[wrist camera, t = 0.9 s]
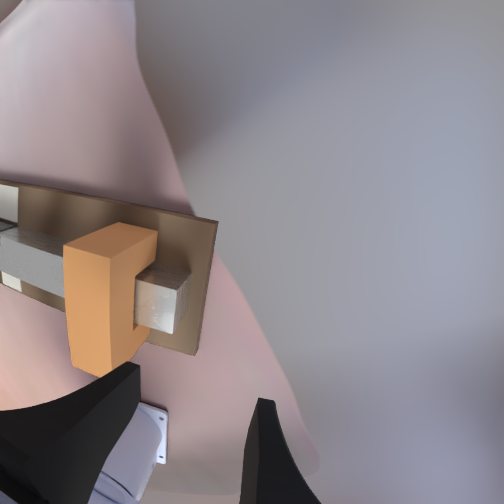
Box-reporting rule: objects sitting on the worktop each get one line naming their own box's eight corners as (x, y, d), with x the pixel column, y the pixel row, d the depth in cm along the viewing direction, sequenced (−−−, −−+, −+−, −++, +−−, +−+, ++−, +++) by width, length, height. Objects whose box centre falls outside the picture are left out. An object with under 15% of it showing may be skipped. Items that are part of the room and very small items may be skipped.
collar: (158, 231, 19) (110, 258, 14) (149, 334, 22) (112, 382, 16) (118, 222, 19) (63, 244, 14) (114, 322, 22) (72, 365, 16)
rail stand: (218, 221, 20) (202, 235, 16) (198, 348, 23) (183, 381, 19) (-21, 176, 21) (-50, 181, 17) (-18, 267, 24) (-43, 279, 20)
